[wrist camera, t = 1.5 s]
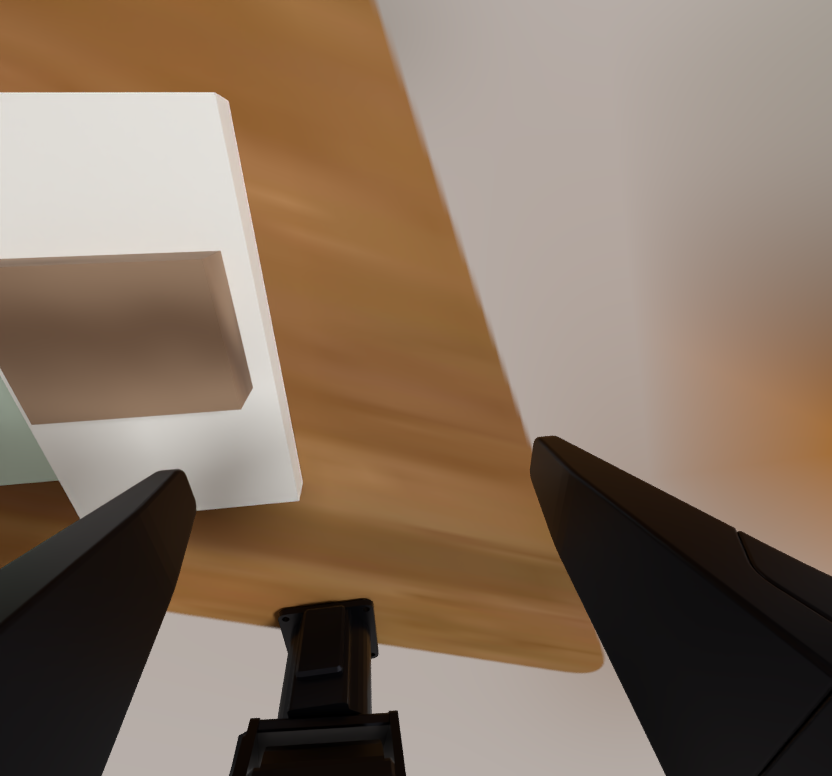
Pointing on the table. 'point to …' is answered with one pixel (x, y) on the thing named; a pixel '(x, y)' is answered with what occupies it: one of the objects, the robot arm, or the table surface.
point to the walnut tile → (120, 336)
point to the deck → (139, 234)
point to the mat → (19, 447)
